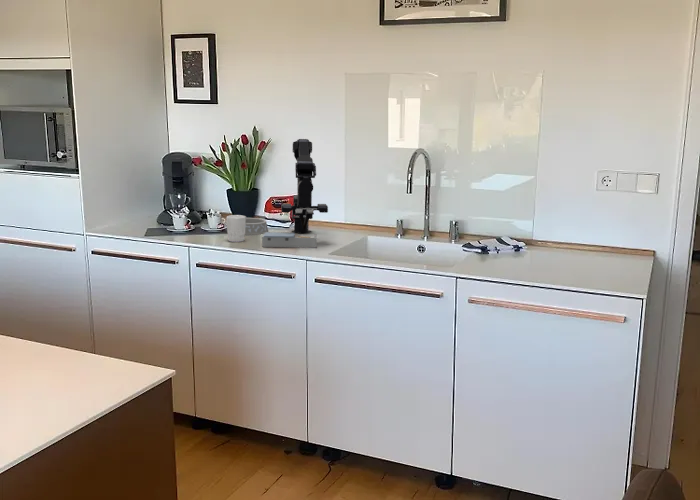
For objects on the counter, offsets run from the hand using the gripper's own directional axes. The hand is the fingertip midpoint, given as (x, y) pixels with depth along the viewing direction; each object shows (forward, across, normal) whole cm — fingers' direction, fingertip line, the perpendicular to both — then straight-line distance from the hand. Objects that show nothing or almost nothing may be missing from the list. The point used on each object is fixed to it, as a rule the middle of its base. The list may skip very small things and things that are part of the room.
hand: (304, 228), depth 296 cm
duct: (+6, +6, +5) cm, 10 cm away
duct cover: (+2, +10, +6) cm, 12 cm away
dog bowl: (+7, +24, -26) cm, 36 cm away
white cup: (+6, +28, -6) cm, 29 cm away
